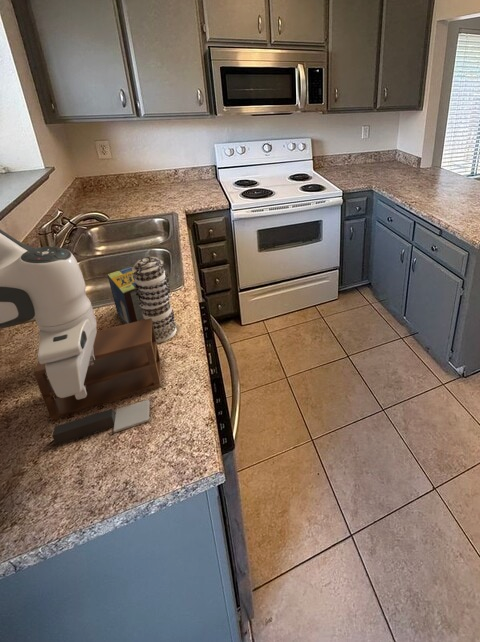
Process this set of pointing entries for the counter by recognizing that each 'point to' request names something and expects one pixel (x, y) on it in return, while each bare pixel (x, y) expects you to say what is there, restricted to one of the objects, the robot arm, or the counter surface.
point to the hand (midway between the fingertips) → (86, 379)
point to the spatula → (102, 422)
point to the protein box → (125, 295)
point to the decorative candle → (155, 296)
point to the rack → (111, 369)
